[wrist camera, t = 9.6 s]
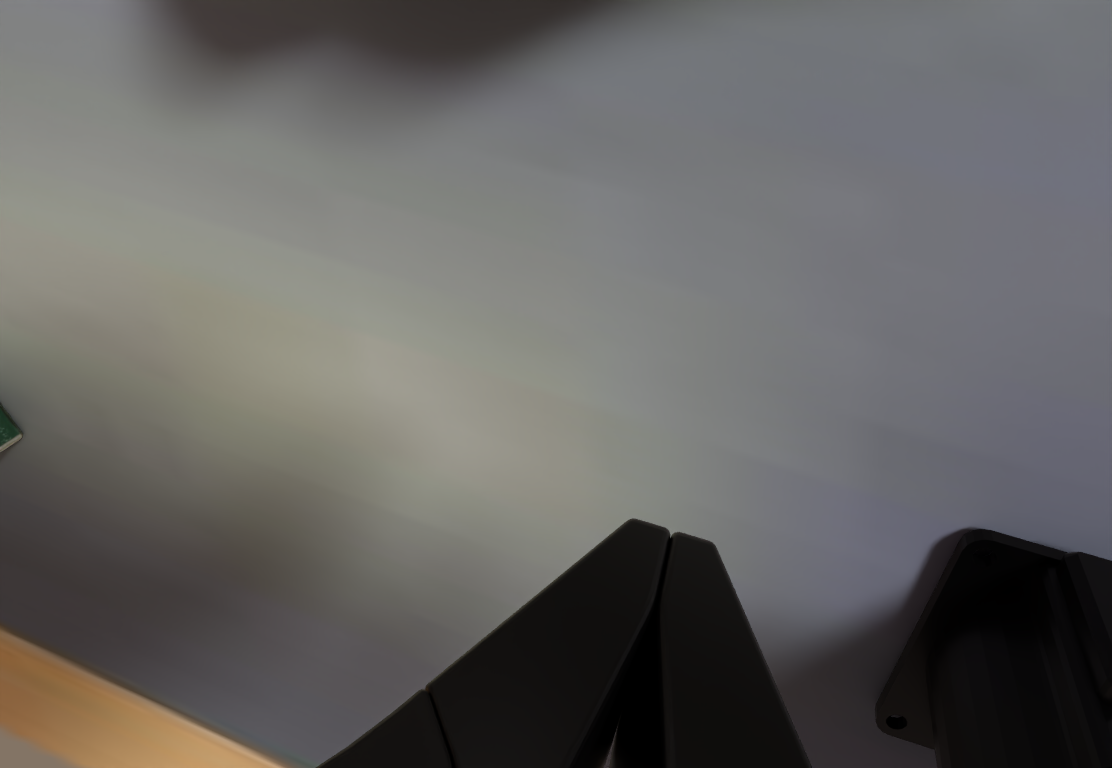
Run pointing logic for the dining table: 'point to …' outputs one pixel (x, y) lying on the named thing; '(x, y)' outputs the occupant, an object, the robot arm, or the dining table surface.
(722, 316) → the dining table surface
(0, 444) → the crayon box
